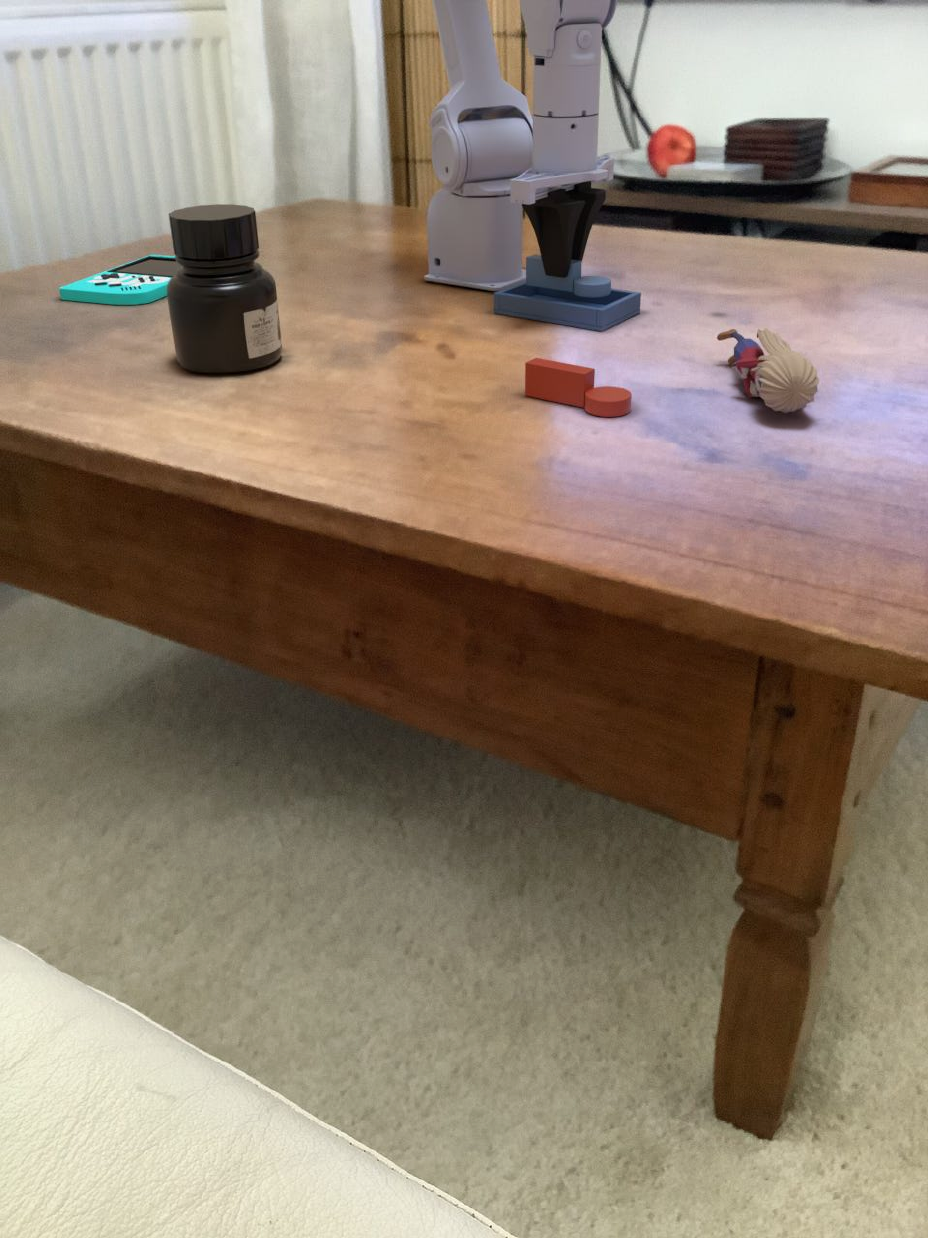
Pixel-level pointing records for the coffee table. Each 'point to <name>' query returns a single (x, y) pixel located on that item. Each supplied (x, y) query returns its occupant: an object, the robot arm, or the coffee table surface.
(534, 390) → the red block with disc
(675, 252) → the coffee table surface
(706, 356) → the coffee table surface
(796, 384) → the figurine
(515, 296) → the blue tray
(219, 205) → the ink bottle
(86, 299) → the handheld game console
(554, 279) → the blue block with disc
